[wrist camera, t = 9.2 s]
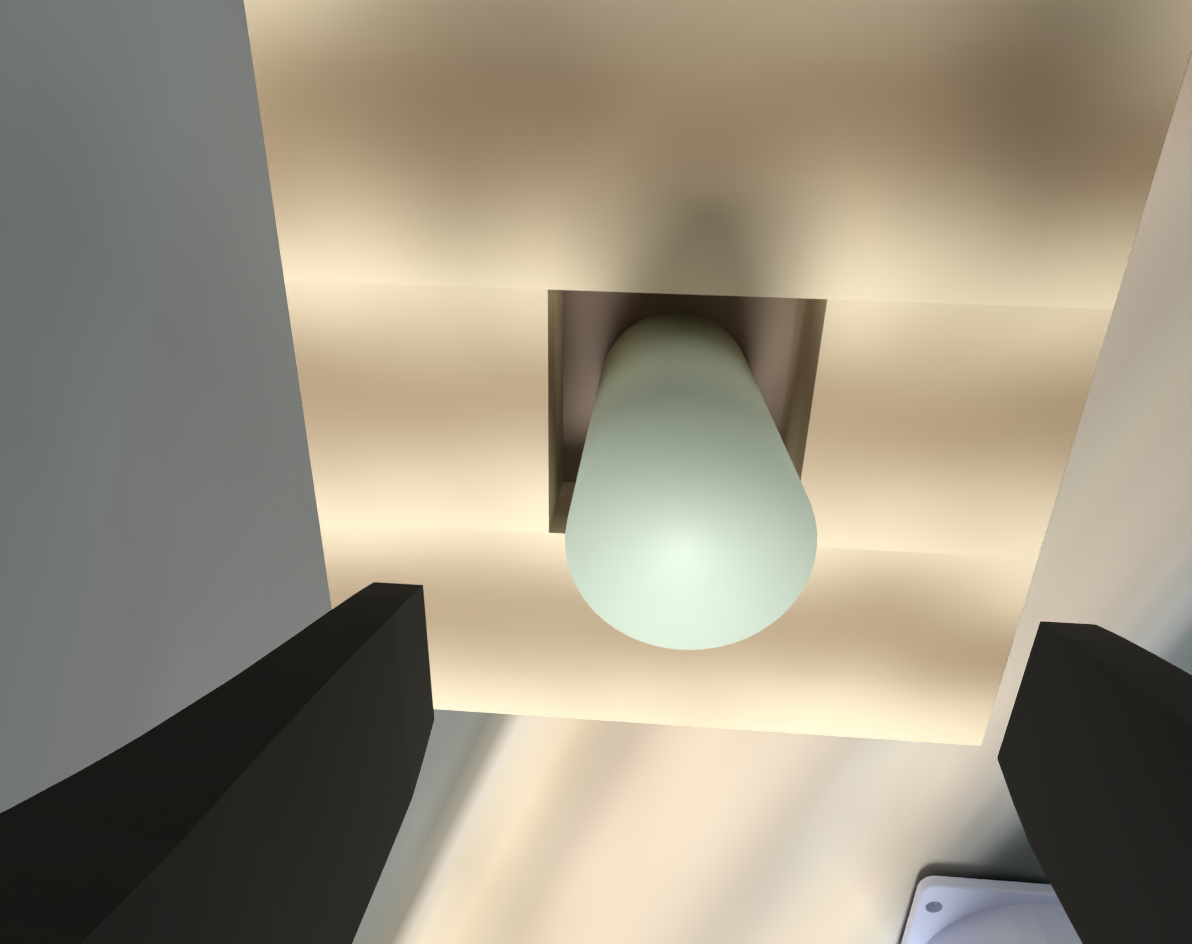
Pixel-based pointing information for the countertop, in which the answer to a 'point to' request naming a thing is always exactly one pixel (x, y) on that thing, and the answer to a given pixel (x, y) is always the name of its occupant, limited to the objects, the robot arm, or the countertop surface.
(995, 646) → the pocket block
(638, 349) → the pin
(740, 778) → the countertop surface
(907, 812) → the countertop surface
